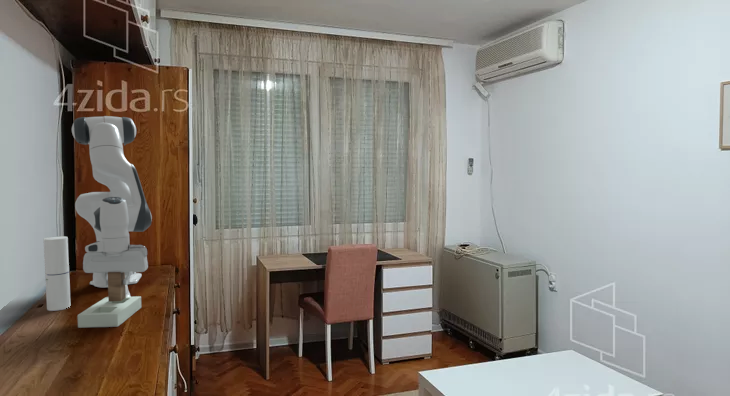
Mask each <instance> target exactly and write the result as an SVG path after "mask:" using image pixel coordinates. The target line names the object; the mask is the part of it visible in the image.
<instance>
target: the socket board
mask: <svg viewBox="0 0 730 396" xmlns="http://www.w3.org/2000/svg"><path fill="white" fill-rule="evenodd" d="M140 309H142V296H139V295H138V296H137V295H136V296H131V297H126V298H125V299H123V300H122V301H109V296H106V297H104V298H102V299H101V300H99V301H97V302H96V303H94V304H92V305H91V306H90V307H87V308H86V309H85V310H83V311H82V312H80V313H79V314H77V328H78V329H79V328H80V329H81V328H109V327H110V328H113V327H119V326H120V325H122V324H123V323H124V322H125V321H127V320H128V319H129V318H130V317H131V316H133V315H134V314H135V313H136V312H137V311H139V310H140Z"/></svg>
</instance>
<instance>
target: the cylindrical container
mask: <svg viewBox="0 0 730 396" xmlns="http://www.w3.org/2000/svg"><path fill="white" fill-rule="evenodd" d="M43 257H44V273H45V274H44V275H45V276H44V277H45V291H46V292H45V293H46V294H45V295H46V310H47V311H49V312H53V311H55V312H56V311H63V310H67V309H69V308H71V307H70V306H71V305H72V304H71V283H70V265H69V264H70V262H69V259H70V258H69V238H68V236H65V235H64V236H50V237H48V236H47V237H44V238H43ZM68 307H69V308H68ZM66 308H67V309H66Z"/></svg>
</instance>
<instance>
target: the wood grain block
mask: <svg viewBox="0 0 730 396" xmlns="http://www.w3.org/2000/svg"><path fill="white" fill-rule="evenodd" d="M123 279H125V272H108V287H107V293H108V294H107V295H108V296H107V297H109V301H122V300H123V299H125V298H126V292H125V285H122V280H123Z"/></svg>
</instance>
